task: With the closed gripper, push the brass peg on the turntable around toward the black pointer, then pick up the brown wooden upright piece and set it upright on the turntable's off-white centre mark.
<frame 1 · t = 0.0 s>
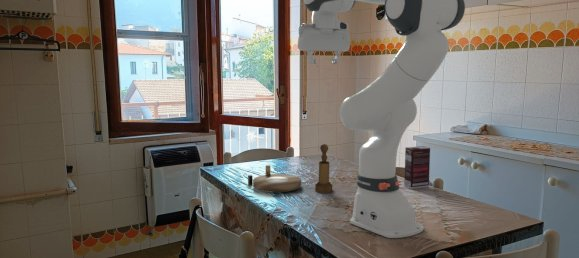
hand: (324, 64, 149), 48 cm above the table, tool pointing down, fingers open, 8 cm apart
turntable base: (277, 187, 163), on the table
turntable: (277, 177, 162), point 4 cm above the table, hinge at 0.0°
supplement box: (416, 187, 163), on the table
brown wooden upright piece: (323, 191, 159), on the table
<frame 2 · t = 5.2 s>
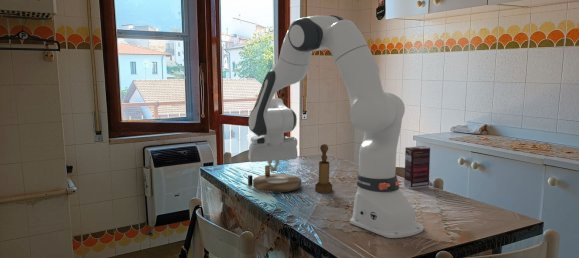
hand: (273, 170, 170), 5 cm above the table, tool pointing down, fingers closed
turntable: (277, 177, 162), point 4 cm above the table, hinge at 1.7°, touching gripper
everything else where it was.
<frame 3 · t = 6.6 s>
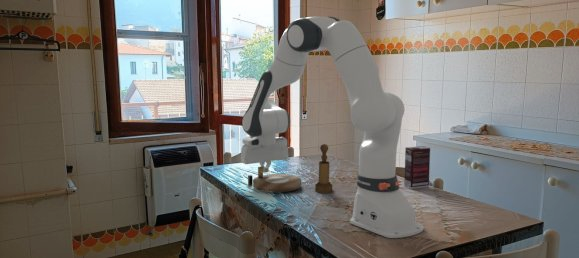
hand: (265, 172, 168), 5 cm above the table, tool pointing down, fingers closed
turntable: (277, 177, 162), point 4 cm above the table, hinge at 26.5°, touching gripper
everything else where it was.
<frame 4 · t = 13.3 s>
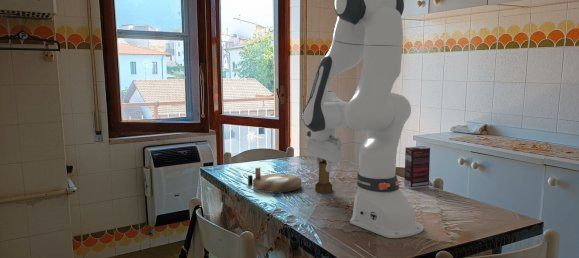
hand: (324, 169, 157), 8 cm above the table, tool pointing down, fingers closed on brown wooden upright piece, 4 cm apart
turntable: (277, 177, 162), point 4 cm above the table, hinge at 39.1°
brown wooden upright piece: (323, 191, 159), on the table, touching gripper
everything else where it was.
when the fingers open (12 cm above the table, at t = 21.9 s): brown wooden upright piece stays where it is, resting on turntable.
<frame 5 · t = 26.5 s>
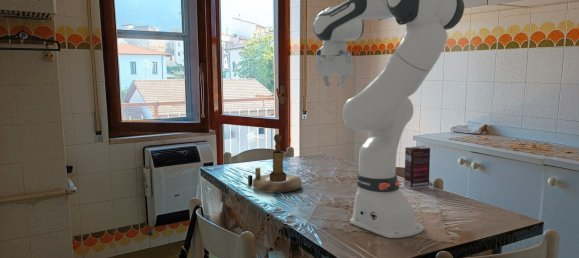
hand: (333, 87, 158), 39 cm above the table, tool pointing down, fingers open, 8 cm apart
turntable: (277, 177, 162), point 4 cm above the table, hinge at 39.1°, touching brown wooden upright piece
brown wooden upright piece: (277, 180, 162), point 3 cm above the table, touching turntable
everything else where it was.
at the end: turntable at +39° (first picture: +0°); brown wooden upright piece 0.3 cm from the turntable (horizontally); brown wooden upright piece tilted 0° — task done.
